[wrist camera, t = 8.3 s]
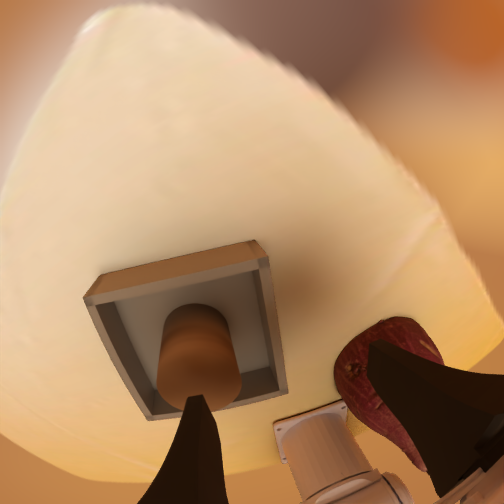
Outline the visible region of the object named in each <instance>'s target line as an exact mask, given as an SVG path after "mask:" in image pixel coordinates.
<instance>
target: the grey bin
mask: <svg viewBox="0 0 504 504" xmlns="http://www.w3.org/2000/svg"><path fill="white" fill-rule="evenodd" d="M83 300H84V302H85V305H86V307H87V309H88V312H89V314H90V316H91V319H92V321H93V323H94V325H95V328H96V330H97V332H98V334H99V336H100V338H101V340H102V342H103V344H104V346H105V348H106V350H107V352H108V354H109V356H110V358H111V360H112V362H113V364H114V366H115V368H116V369H117V371H118V373H119V375H120V377H121V378H122V380H123V382H124V384H125V385H126V387H127V389H128V390H129V392H130V394H131V395H132V397H133V399H134V400H135V402H136V404H137V405H138V407H139V408H140V410H141V411H142V413H143V414H144V416H145V417H146V419H147V420H148V421H154V420H163V419H171V418H179V417H182V414H183V410H180V409H178V408H175V407H173V406H172V405H170V404H169V403H167V402H166V401H165V400H164V399H163V398H162V397H161V395H160V393H159V392H158V389H157V385H156V379H157V370H158V362H159V354H160V347H161V340H162V333H163V326H164V322H165V320H166V318H167V316H168V315H169V314H170V313H171V312H172V311H173V310H175V309H176V308H178V307H180V306H182V305H186V304H191V303H199V304H205V305H208V306H211V307H213V308H215V309H216V310H218V311H219V312H220V313H221V314H222V315H223V316H224V317H225V319H226V321H227V323H228V327H229V331H230V335H231V339H232V344H233V348H234V352H235V356H236V360H237V364H238V368H239V372H240V376H241V380H242V387H241V390H240V393H239V394H238V396H237V397H236V399H235V400H234V401H233V402H231V403H230V404H229V405H227V406H226V407H224V408H222V409H219V410H216V411H220V410H225V409H230V408H234V407H239V406H243V405H247V404H251V403H255V402H259V401H263V400H267V399H271V398H274V397H278V396H281V395H285V394H288V386H287V379H286V372H285V365H284V358H283V351H282V344H281V337H280V330H279V324H278V317H277V310H276V304H275V297H274V291H273V284H272V278H271V272H270V265H269V259H268V255H267V254H266V253H265V252H264V251H263V249H262V248H261V247H260V246H259V244H258V243H257V242H256V241H255V240H251V241H247V242H242V243H238V244H233V245H229V246H224V247H220V248H215V249H211V250H206V251H202V252H198V253H193V254H189V255H184V256H180V257H176V258H171V259H167V260H163V261H158V262H154V263H150V264H145V265H141V266H137V267H132V268H128V269H124V270H120V271H115V272H111V273H107V274H103V275H100V276H99V277H98V278H97V280H96V281H95V282H94V283H93V285H92V286H91V287H90V289H89V290H88V291H87V292H86V294H85V295H84V296H83ZM212 412H215V411H212Z"/></svg>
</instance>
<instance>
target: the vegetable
mask: <svg viewBox="0 0 504 504" xmlns="http://www.w3.org/2000/svg"><path fill="white" fill-rule="evenodd" d="M378 339H383V340H385V341H387V342H390V343H392V344H394V345H396V346H398V347H400V348H402V349H404V350H407V351H409V352H411V353H413V354H416V355H418V356H420V357H423V358H425V359H428V360H430V361H433V362H436V363H438V364H441V365H444V362H443V359H442V356H441V354H440V352H439V351H438V349H437V347H436V345H435V344H434V342H433V341H432V340H431V338H430V337H429V336H428V334H427V333H426V332H425V330H424V329H423V328H422V327H421V326H420V325H419V324H418V323H417V322H416V321H414V320H413V319H411V318H405V317H393V318H390V319H386V320H380V322H378V323H377V324H375V325H374V326H372V327H370V328H369V329H367V330H365V331H364V332H362V333H361V334H360V335H359V336H357V337H355V338H354V339H353V340H352V341H351V342H350V343H349V344H348V345H347V346H346V348H344V349H343V351H342V352H341V354H340V355H339V357H338V358H337V361H336V363H335V367H334V377H335V382H336V386H337V389H338V392H339V393H340V395H341V396H342V399H343V400H344V402H345V404H346V405H347V407H348V408H349V409H350V411H351V412H352V413H353V414H354V415H355V416H356V417H357V418H358V419H359V420H360V421H361V422H362V423H364V424H365V425H367V426H368V427H369V428H371V429H372V430H374V431H375V432H377V433H379V434H380V435H382V436H384V437H386V438H387V439H389V440H390V441H392V442H393V443H394V444H396V445H397V446H398V447H399V448H400V449H402V451H403V452H404V453H405V454H406V455H407V457H408V458H409V459H410V460H411V461H412V463H413V464H414V465H415V466H416V467H417V468H418V469H420V470H421V471H423V472H427V473H428V470H427V468H426V466H425V464H424V462H423V460H422V458H421V456H420V454H419V452H418V450H417V449H416V447H415V445H414V443H413V441H412V440H411V438H410V436H409V435H408V433H407V431H406V430H405V429H404V427H403V426H402V424H401V423H400V422H399V421H398V419H397V418H396V417H395V416H394V414H393V413H392V412H391V411H390V409H389V408H388V407H387V406H386V404H385V403H384V402H383V401H382V399H381V398H380V397H379V396H378V394H377V393H376V391H375V390H374V388H373V386H372V385H371V383H370V381H369V379H368V378H367V376H366V375H367V364H368V352H369V343H371V342H374V341H376V340H378ZM444 366H445V365H444ZM428 475H429V473H428Z"/></svg>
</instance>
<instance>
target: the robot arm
mask: <svg viewBox="0 0 504 504" xmlns="http://www.w3.org/2000/svg"><path fill="white" fill-rule="evenodd" d="M366 376H367V378H368V379H369V381H370V383H371V385H372V386H373V388H374V390H375V391H376V393H377V394H378V396H379V397H380V398H381V399H382V401H383V402H384V403H385V404H386V406H387V407H388V408H389V409H390V411H391V412H392V413H393V414H394V416H395V417H396V418H397V419H398V421H399V422H400V423H401V424H402V426H403V427H404V429H405V430H406V431H407V433H408V435H409V436H410V438H411V440H412V441H413V443H414V445H415V447H416V449H417V450H418V452H419V454H420V456H421V458H422V460H423V462H424V464H425V466H426V468H427V470H428V473H429V475H430V478H431V480H432V482H433V485H434V488H435V491H436V493H437V495H438V496H439V497H440V498H441V499H440V500H438V501H437V502H435V503H434V504H455V503H456V502H457V501H458V500H460V499H461V500H460V504H504V375H497V374H481V373H475V372H468V371H463V370H459V369H455V368H451V367H448V366H444V365H441V364H438V363H436V362H433V361H430V360H428V359H425V358H423V357H420V356H418V355H416V354H413V353H411V352H409V351H407V350H404V349H402V348H400V347H398V346H396V345H394V344H392V343H390V342H387V341H385V340H383V339H378V340H376V341H374V342H371V343H369V352H368V364H367V375H366ZM347 408H348V407H347V405H346V404H345V402H344V400H341V401H338V402H336V403H333V404H330V405H328V406H325V407H322V408H319V409H316V410H314V411H311V412H308V413H305V414H302V415H298V416H295V417H292V418H289V419H285V420H282V421H278V422H275V423H274V424H273V428H274V433H275V437H276V441H277V446H278V450H279V454H280V459H281V462H282V463H283V464H286V463H288V464H289V466H290V469H291V472H292V474H293V477H294V480H295V482H296V485H297V487H298V490H299V493H300V495H301V498H302V500H303V502H301V503H300V504H415V503H414V500H413V498H412V496H411V494H410V492H409V490H408V489H407V487H406V486H405V484H404V483H403V482H402V480H401V479H400V478H399V477H398V476H397V475H396V474H393V473H389V472H385V473H383V474H380V473H379V471H378V469H374V470H373V469H372V467H371V465H370V464H369V462H368V460H367V459H366V457H365V455H364V454H363V452H362V450H361V449H360V447H359V445H358V444H357V442H356V441H355V439H354V437H353V435H352V434H351V432H350V430H349V429H348V427H347V425H346V417H347ZM137 504H229V503H228V499H227V495H226V489H225V481H224V471H223V461H222V451H221V443H220V438H219V433H218V429H217V424H216V421H215V419H214V417H213V415H212V413H211V411H210V409H209V407H208V405H207V403H206V400H205V398H204V396H203V394H201V395H196V396H190V397H188V398H187V399H186V403H185V407H184V410H183V414H182V417H181V420H180V423H179V426H178V429H177V432H176V435H175V437H174V440H173V442H172V445H171V447H170V449H169V452H168V454H167V456H166V458H165V461H164V463H163V465H162V466H161V468H160V470H159V472H158V474H157V476H156V477H155V479H154V480H153V482H152V484H151V485H150V487H149V488H148V490H147V491H146V493H145V494H144V495H143V497H142V498H141V499H140V501H139V502H138V503H137Z"/></svg>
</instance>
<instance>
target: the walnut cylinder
mask: <svg viewBox="0 0 504 504" xmlns="http://www.w3.org/2000/svg"><path fill="white" fill-rule="evenodd" d="M156 385H157V389H158V392H159V393H160V395H161V397H162V398H163V399H164V400H165V401H166V402H167V403H169V404H170V405H172V406H173V407H175V408H178V409H180V410H184V407H185V403H186V399H187V398H188V397H190V396H196V395H201V394H203V396H204V398H205V400H206V403H207V405H208V407H209V409H210V411H211V412H212V411H216V410H219V409H222V408H224V407H226V406H227V405H229V404H230V403H231V402H233V401H234V400H235V399H236V397H237V396H238V394H239V393H240V390H241V387H242V380H241V376H240V372H239V368H238V364H237V360H236V356H235V352H234V348H233V344H232V339H231V335H230V331H229V327H228V323H227V321H226V319H225V317H224V316H223V315H222V314H221V313H220V312H219V311H218V310H216V309H215V308H213V307H211V306H208V305H205V304H199V303H191V304H186V305H182V306H180V307H178V308H176V309H175V310H173V311H172V312H171V313H170V314H169V315H168V316H167V318H166V320H165V322H164V326H163V333H162V340H161V347H160V354H159V362H158V370H157V379H156Z"/></svg>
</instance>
